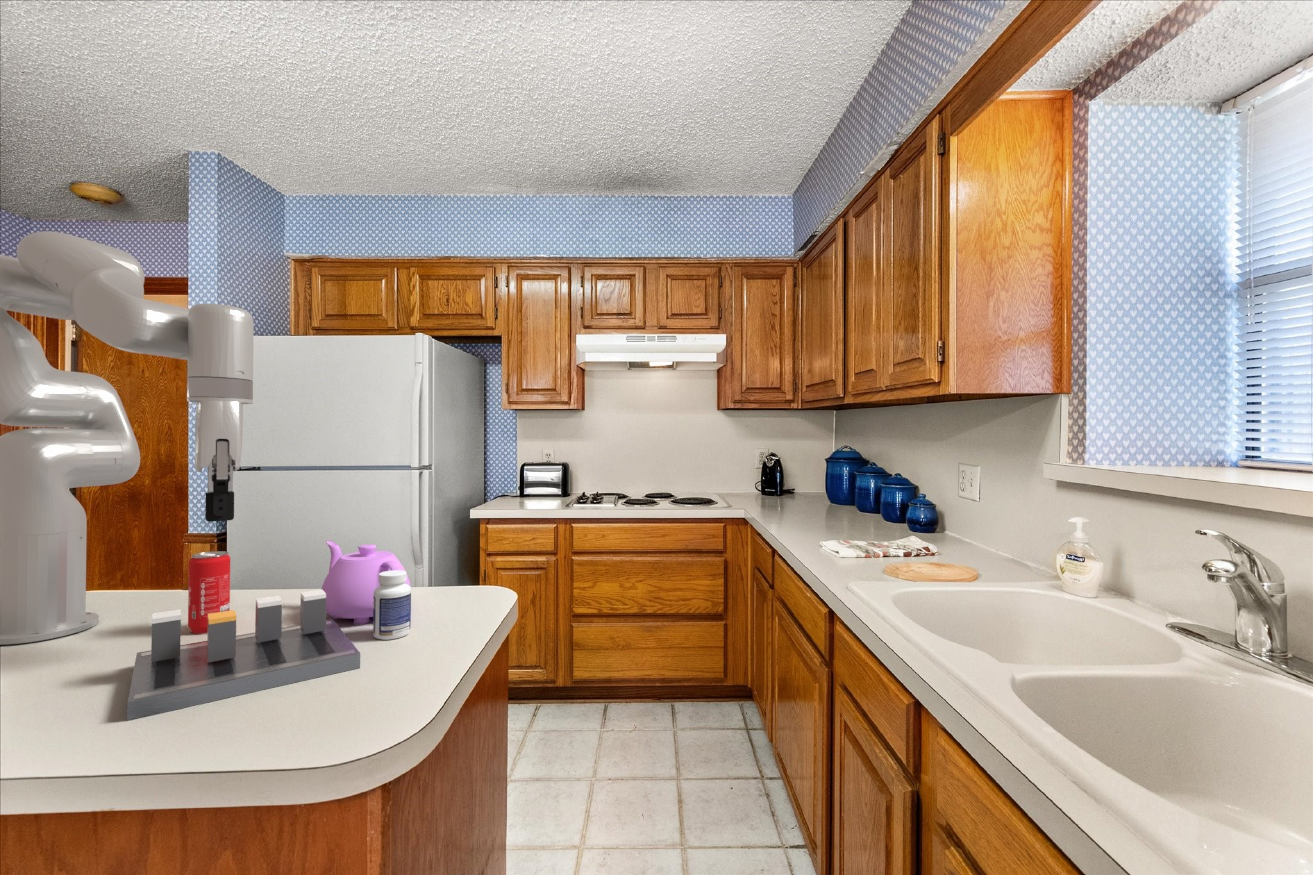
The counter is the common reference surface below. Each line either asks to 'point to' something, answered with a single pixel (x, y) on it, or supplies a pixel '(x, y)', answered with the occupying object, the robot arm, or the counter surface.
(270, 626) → the breaker
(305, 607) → the breaker
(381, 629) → the pill bottle
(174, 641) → the block
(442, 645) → the counter surface
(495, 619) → the counter surface
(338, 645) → the panel
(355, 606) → the teapot
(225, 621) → the tripped breaker
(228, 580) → the beverage can
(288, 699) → the counter surface
